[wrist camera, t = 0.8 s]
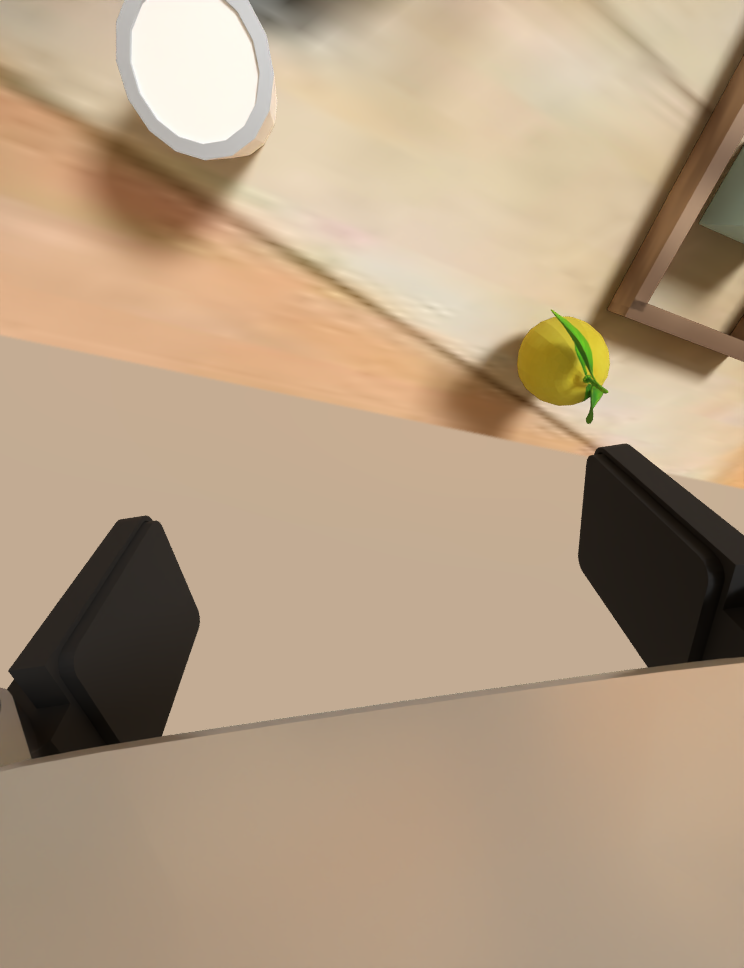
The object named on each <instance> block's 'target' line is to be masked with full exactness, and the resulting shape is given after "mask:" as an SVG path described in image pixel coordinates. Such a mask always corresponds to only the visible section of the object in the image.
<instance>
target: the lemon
mask: <svg viewBox="0 0 744 968" xmlns="http://www.w3.org/2000/svg"><path fill="white" fill-rule="evenodd" d="M551 311H552V312H553V314H554V315H555V316H556V317H553V318H550V319H548V320H545V321H542V322H540V323H539V324H538V325H536V326H535V327H534V328H532V329H531V330H530V331H529V332H528V334H527V335H526V336H525V338H524V339H523V341H522V344H521V346H520V349H519V353H518V361H517V367H518V375H519V378H520V379H521V381H522V383H523V385H524V386H525V388H526V389H527V390H528V391H529V392H531V393H532V394H533V395H534V396H536V397H537V398H538V399H540V400H542V401H545V402H548V403H551V404H554V405H558V406H562V405H574V404H577V403H580V402H583V401H585V400H586V399H588V398H589V397H590V398H591V407H590V411H589V414H588V416H587V418H586V422H587V424H590V423H591V422H592V420H593V408H594V407H595V405H596V404H597V402H598V401H599V400H600V398H601V397H602V395H603V393H608V390H606V389H605V388H603V387H602V385H603V383H604V381H605V380H606V378H607V376H608V371H609V366H610V361H609V351H608V348H607V346H606V344H605V341H604V339H603V337H602V336H601V335H600V334H599V333H598V332H597V331H596V330H595V329H594V328H593V327H592V326H590V325H589V324H588V323H586V322H585V321H582V320H579V319H576V318H573V317H561V316H560V315H558V314H557V313H556V312H554V311H553V310H551Z"/></svg>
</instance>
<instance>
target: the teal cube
mask: <svg viewBox="0 0 744 968" xmlns="http://www.w3.org/2000/svg"><path fill="white" fill-rule="evenodd" d="M699 224H700V225H702V226H704V227H707V228H709V229H711V230H713V231H716V232H718V233H720V234H722V235H725V236H727V237H729V238H731V239H734V240H736V241H738V242H740V243H743V244H744V146H743V148H742V149H741V151H740V153H739V155H738V156H737V158H736V160H735V162H734V163H733V165H732V167H731V168H730V170H729V172H728V174H727V175H726V177H725V179H724V181H723V182H722V184H721V186H720V188H719V189H718V191H717V193H716V194H715V196H714V198H713V200H712V201H711V203H710V205H709V207H708V208H707V210H706V212H705V214H704V215H703V217H702V219H701V220H700V222H699Z"/></svg>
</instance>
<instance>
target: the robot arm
mask: <svg viewBox="0 0 744 968" xmlns="http://www.w3.org/2000/svg"><path fill="white" fill-rule="evenodd" d="M581 519H582V520H581V529H580V541H579V552H578V558H579V564H580V567H581V569H582V571H583V573H584V574H585V576H586V577H587V579H588V580H589V582H590V583H591V585H592V586H593V588H594V589H595V590H596V592H597V593H598V595H599V596H600V598H601V599H602V601H603V602H604V604H605V605H606V607H607V608H608V609H609V611H610V612H611V614H612V615H613V617H614V618H615V620H616V621H617V623H618V624H619V626H620V627H621V629H622V630H623V632H624V633H625V634H626V636H627V637H628V639H629V640H630V642H631V643H632V645H633V646H634V648H635V649H636V650H637V652H638V654H639V655H640V656H641V658H642V659H643V661H644V662H645V664H646V665H647V667H648V668H641V669H633V670H624V671H617V672H610V673H602V674H595V675H588V676H581V677H573V678H567V679H559V680H551V681H544V682H537V683H529V684H523V685H515V686H508V687H501V688H493V689H486V690H479V691H472V692H464V693H457V694H450V695H443V696H436V697H429V698H422V699H415V700H408V701H400V702H394V703H386V704H379V705H373V706H366V707H359V708H352V709H345V710H338V711H331V712H324V713H317V714H310V715H303V716H296V717H289V718H283V719H276V720H269V721H263V722H256V723H249V724H242V725H236V726H230V727H222V728H216V729H209V730H202V731H195V732H189V733H182V734H175V735H168V736H162V734H163V731H164V728H165V725H166V722H167V719H168V716H169V713H170V711H171V708H172V705H173V702H174V698H175V696H176V693H177V690H178V687H179V684H180V681H181V678H182V675H183V672H184V670H185V667H186V664H187V661H188V658H189V655H190V652H191V649H192V646H193V643H194V640H195V637H196V634H197V632H198V628H199V623H200V618H199V617H200V616H199V612H198V609H197V607H196V604H195V602H194V600H193V597H192V595H191V593H190V590H189V588H188V585H187V583H186V581H185V578H184V576H183V574H182V572H181V569H180V567H179V564H178V562H177V560H176V557H175V555H174V553H173V551H172V548H171V546H170V543H169V541H168V539H167V536H166V534H165V532H164V530H163V527H162V525H161V524H160V523H159V522H158V521H152V519H151V518H150V517H149V516H140V517H134V518H127V519H121V520H118V521H117V522H116V523H115V525H114V526H113V528H112V529H111V530H110V532H109V533H108V534H107V536H106V537H105V539H104V540H103V541H102V543H101V544H100V546H99V547H98V548H97V550H96V551H95V552H94V554H93V555H92V557H91V558H90V559H89V561H88V562H87V563H86V565H85V566H84V567H83V569H82V570H81V572H80V573H79V574H78V576H77V577H76V579H75V580H74V581H73V583H72V584H71V585H70V587H69V588H68V589H67V591H66V592H65V594H64V595H63V596H62V598H61V599H60V601H59V602H58V603H57V605H56V606H55V607H54V609H53V610H52V611H51V613H50V614H49V616H48V617H47V618H46V620H45V621H44V622H43V624H42V625H41V627H40V628H39V629H38V631H37V632H36V633H35V635H34V636H33V638H32V639H31V640H30V642H29V643H28V644H27V646H26V647H25V649H24V650H23V651H22V653H21V654H20V655H19V657H18V658H17V660H16V661H15V662H14V664H13V665H12V666H11V668H10V669H9V672H10V674H11V675H12V677H13V678H14V680H13V682H12V683H11V685H10V686H9V687H8V689H3V688H0V968H744V535H743V534H741V533H740V532H739V531H738V530H736V529H735V528H734V527H732V526H731V525H730V524H729V523H727V522H726V521H725V520H724V519H722V518H721V517H720V516H719V515H717V514H716V513H715V512H714V511H712V510H711V509H710V508H709V507H707V506H706V505H705V504H703V503H702V502H701V501H700V500H698V499H697V498H696V497H694V496H693V495H692V494H691V493H690V492H688V491H687V490H686V489H685V488H683V487H682V486H681V485H679V484H678V483H677V482H676V481H674V480H673V479H672V478H671V477H669V476H668V475H667V474H666V473H664V472H663V471H662V470H661V469H659V468H658V467H657V466H655V465H654V464H653V463H652V462H650V461H649V460H648V459H647V458H645V457H644V456H643V455H642V454H640V453H639V452H638V451H637V450H635V449H634V448H633V447H631V446H630V445H628V444H619V445H613V446H606V447H599V448H598V449H596V451H595V453H594V455H591V456H589V457H588V459H587V464H586V475H585V486H584V497H583V508H582V518H581Z"/></svg>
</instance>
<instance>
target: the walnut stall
mask: <svg viewBox="0 0 744 968" xmlns="http://www.w3.org/2000/svg"><path fill="white" fill-rule="evenodd" d="M743 135H744V55H743V57H742V59H741V61H740V63H739V65H738V67H737V68H736V70H735V72H734V74H733V76H732V78H731V80H730V81H729V83H728V85H727V87H726V89H725V91H724V93H723V95H722V96H721V98H720V100H719V102H718V104H717V106H716V108H715V109H714V111H713V113H712V115H711V117H710V119H709V121H708V122H707V124H706V126H705V128H704V130H703V132H702V134H701V135H700V137H699V139H698V141H697V143H696V145H695V147H694V149H693V150H692V152H691V154H690V156H689V158H688V160H687V162H686V163H685V165H684V167H683V169H682V171H681V173H680V175H679V176H678V178H677V180H676V182H675V184H674V186H673V188H672V189H671V191H670V193H669V195H668V197H667V199H666V201H665V202H664V204H663V206H662V208H661V210H660V212H659V214H658V216H657V217H656V219H655V221H654V223H653V225H652V227H651V229H650V230H649V232H648V234H647V236H646V238H645V240H644V242H643V243H642V245H641V247H640V249H639V251H638V253H637V255H636V256H635V258H634V260H633V262H632V264H631V266H630V268H629V269H628V271H627V273H626V275H625V277H624V279H623V281H622V283H621V284H620V286H619V288H618V290H617V292H616V294H615V296H614V297H613V299H612V301H611V303H610V305H609V307H608V309H607V310H608V311H611V312H614V313H616V314H619V315H621V316H624V317H627V318H629V319H632V320H635V321H637V322H640V323H643V324H645V325H648V326H650V327H653V328H656V329H658V330H661V331H664V332H666V333H669V334H672V335H674V336H677V337H680V338H682V339H685V340H687V341H690V342H693V343H695V344H698V345H701V346H703V347H706V348H709V349H711V350H714V351H717V352H719V353H722V354H724V355H727V356H730V357H732V358H735V359H738V360H740V361H743V362H744V315H743V317H742V318H741V320H740V321H739V323H738V324H737V326H736V327H735V329H734V330H733V332H732V333H731V335H730V336H729V335H727V334H724V333H722V332H719V331H717V330H714V329H711V328H709V327H706V326H704V325H701V324H699V323H696V322H694V321H691V320H688V319H686V318H683V317H681V316H678V315H676V314H673V313H670V312H668V311H665V310H663V309H660V308H658V307H655V306H652V305H650V304H647V303H648V302H649V300H650V298H651V296H652V295H653V293H654V291H655V289H656V288H657V286H658V284H659V282H660V281H661V279H662V277H663V275H664V274H665V272H666V270H667V268H668V267H669V265H670V263H671V261H672V260H673V258H674V256H675V254H676V253H677V251H678V249H679V247H680V246H681V244H682V242H683V240H684V239H685V237H686V235H687V233H688V232H689V230H690V228H691V226H692V225H693V223H694V221H695V219H696V218H697V216H698V214H699V212H700V211H701V209H702V207H703V205H704V204H705V202H706V200H707V198H708V197H709V195H710V193H711V191H712V190H713V188H714V186H715V184H716V183H717V181H718V179H719V177H720V176H721V174H722V172H723V170H724V169H725V167H726V165H727V163H728V162H729V160H730V158H731V156H732V155H733V153H734V151H735V149H736V148H737V146H738V144H739V142H740V141H741V139H742V137H743Z"/></svg>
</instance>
